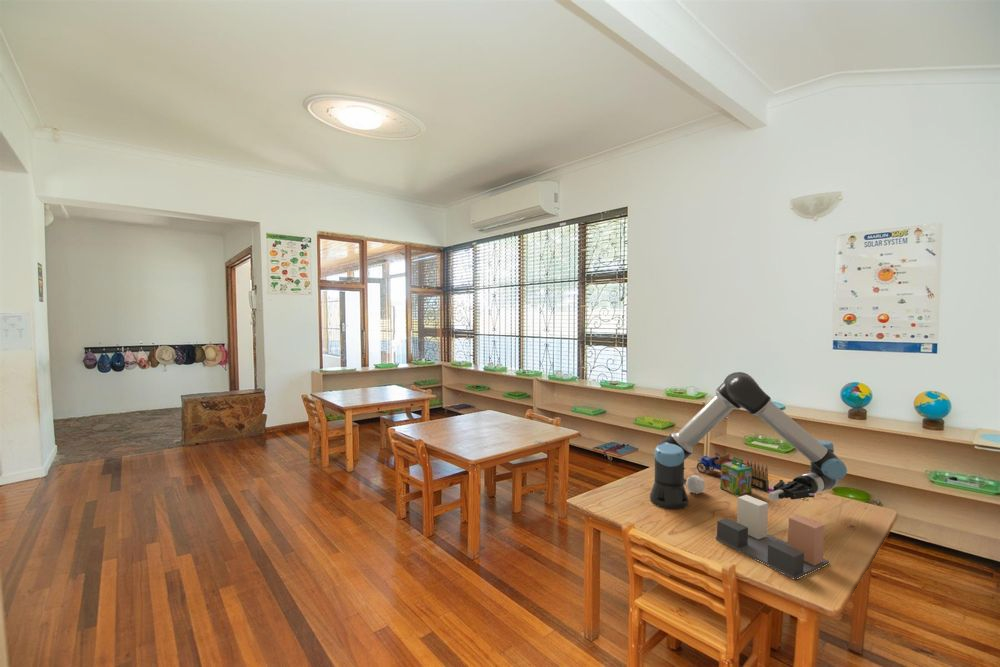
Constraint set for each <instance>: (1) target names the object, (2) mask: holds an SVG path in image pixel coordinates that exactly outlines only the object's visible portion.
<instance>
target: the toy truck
mask: <svg viewBox="0 0 1000 667" xmlns="http://www.w3.org/2000/svg"><path fill="white" fill-rule="evenodd" d="M714 455H715V456H714V457H710V456H707V455H704V456H702V457H701V459H700V460H698V463H697V464H696V468H697V470H698V472H699V473H700V474H701V473H702V474H705V473H706V472H709V471H711V472H713V473H716V474H718V475H719V474H720V475H721V464H725V463H730V462H732V461H733V458H732V459H731V458H730V455H731V454H730V453H727V454H724V455H720V453H717V452H715V453H714ZM735 462H738V463H740V462H739V461H738V460H736V461H735ZM742 464H744V465H746V462H743V463H742ZM749 466H750V464H749ZM717 470H718V471H717Z"/></svg>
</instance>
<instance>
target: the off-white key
mask: <svg viewBox="0 0 1000 667" xmlns="http://www.w3.org/2000/svg"><path fill="white" fill-rule="evenodd" d="M736 510H737V513H736V514H737V515H736V516H737V518H736V522H737V523H739V524H741V525H744V526H746V527H748V535H750V536H752V537H754V538H756V539H761V538H764V537H766V536H767V534H768V518H769V517H768V513H769V511H768V510H769V503H768V502H766V501H763V500H761V499H759V498H757V497H753V496H752V495H748V494H743V495H740V496H737V509H736Z"/></svg>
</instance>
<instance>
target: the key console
mask: <svg viewBox="0 0 1000 667" xmlns="http://www.w3.org/2000/svg"><path fill="white" fill-rule="evenodd" d="M716 530H717V531H716V536H715V540H716V541H718V542H720V543H721V544H724V545H726V546H727V547H730V548H731V549H734V550H735V551H737V552H739V551H740V552H739V553H741V552H742V553H741V554H743V553H744V554H743V555H745V556H747V555H748V556H747V557H748V558H751V557H752V558H751V559H753V558H754V559H753V560H755V559H756V560H755V561H757V560H759V561H761V562H763V563H765V564H767V565H769V566H770V567H772V568H774V569H776V570H778V571H780V572H782V573H784V574H786V575H788V576H790V577H792V578H794V579H797V578H799V577H801V576H803V575H805V574H808V573H810V572H812V571H814V570H816V569H818V568H820V567H822V566H824V565H826V564H828V563H829V564H830V560H827V559H826V558H823V562H821V563H819V564H817V565H815V566H814V565H812V564H809V563H807V562H805V561H804V553H803V552H801V551H799V550H797V549H794V548H792V547H790V546H788V541H785V540H783V539H781V538H779V537H776V536H774V535H772V534H769V533H767V536H766V537H764V538H761V539H756V538H754V537H752V536H750V535H748V527H746V526H744V525H741V524H739V523H737V521H735V520H732V519H730V518H728V517H725V518H722V519H718V520H717V526H716ZM759 561H758V562H759ZM761 562H760V563H761ZM829 564H828V565H829ZM826 566H827V565H826ZM770 567H769V568H770ZM824 567H825V566H824ZM772 568H771V569H772ZM822 568H823V567H822ZM774 569H773V570H774ZM820 569H821V568H820ZM776 570H775V571H776ZM818 570H819V569H818ZM778 571H777V572H778ZM816 571H817V570H816ZM780 572H779V573H780ZM814 572H815V571H814ZM782 573H781V574H782ZM812 573H813V572H812ZM784 574H783V575H784ZM810 574H811V573H810ZM786 575H785V576H786ZM808 575H809V574H808ZM788 576H787V577H788ZM790 577H789V578H790ZM792 578H791V579H792ZM794 579H793V580H794ZM799 579H800V578H799ZM797 580H798V579H797Z"/></svg>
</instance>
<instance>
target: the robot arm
mask: <svg viewBox="0 0 1000 667" xmlns="http://www.w3.org/2000/svg"><path fill="white" fill-rule="evenodd" d="M740 408H742V409H745V411H747V412H748V413H750V415H752V416H757V417H758V418H759V419H761V421H762V422H764V423H765V424H766V425H768V426H769V427H770V428H771V429H772V430H773V431H774V432H775V433H776V434H778V435H779V436H780V437H781V438H783V439H784V441H786V442H787V443H788V444H789V445H791V446H792V447H793V448H795V449H796V450H797V451H798V452H799V453H800V454H802V455H803V456H804V457H805V458H806V459H807V460H809V462H810V464H809V465H810V466H809V468H810V469H809V470H810V471H809V472H808V473H805V474H802V475H798V476H796V477H794V478H793V480H792V481H790V480H789V481H787V482H785V481H784V480H783V479H780V480H779V482H777V483H776V484H775V485H773V489H774V491H769V493H768V500H769V501H771V502H775V501H778V500H781V499H788V498H789V499H790V500H802V499H801V498H806V499H808V498H815V494H817V493H821V492H824V491H827V490H830V489H832V488H833V487H835V486H837V485H838V483H839V480H840V479H843V478H844V477H846V475H847V473H848V468H847V466H846V464H845V462H844V461H843V460H841V459H840V458H839V457H838V456H837V455H836V454H835V453H834V451H835V449H834V444H833V443H832V442H831V441H827V440H823V439H822V440H821V439H816V438H815V437H814V436H813V435H812V434H810V433H809V432H808V431H806V429H804V428H803V427H802V426H801V425H800V424H798V423H797V422H796V421H794V419H792V418H791V417H790V416H788V414H787V413H785V412H784V411H783V410H782V409H780V407H778V406H777V405H776V404H775V403H773V402H772V398H771V396H770V395H768V394H767V393H766V392H765V391H764V390H763V389H762V388H761V386H759V384H758V382H757V381H756V380H755V378H753V377H752V376H751V375H749V374H748V373H746V372H742V371H736V372H735V371H734V372H732V373H730V374H728V375H726V377H725V379H724V381H723V383H722V384H720V385H719V387H717V388H716V389H715V396H713V398H711V399H710V401H708V402H707V403H706V404H705V405H704V406H703V407H702V408H701V409H700V410H699V411H698V412H697V413H696V414H695V415H694V416H693V417H692V418H691V419H690V420H689V421H687V423H686V424H685V425H684V426H683V427H682V428H680V429H679V431H678V432H671V433H670V434H669V435H668V436H667V437H665V438H664V439H662V440H661V441H660V442H658V444H657V446H656V447H655V449H654V453H653V454H654V455H653V456H654V482H653V485H652V488H651V490H650V493H649V501H650V500H651V501H650V502H651V503H652V502H653V503H654V505H655V504H656V505H655V506H657V505H658V507H661V508H664V509H669V510H682V509H686V508H687V507H688V505H689V498H688V495H687V492H686V488H685V486H684V485H685V481H684V480H685V474H684V473H685V469H684V468H685V460H686V459H687V458H689V457H690V456H691V455H692V454H693V453H694V452H693V451H694V450H693V448H694V447H695V446H696V445H697V444H698V443H699V442H700V441H701V440H702V439H703V438H704V437H705V436H707V435H708V433H710V431H712V429H714V427H716V426H717V425H718V424H719V423H720V422H721V421H722V420H723V419H725V417H726V416H727V415H729V414H730V412H732V411H733V410H740ZM653 503H652V504H653Z"/></svg>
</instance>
